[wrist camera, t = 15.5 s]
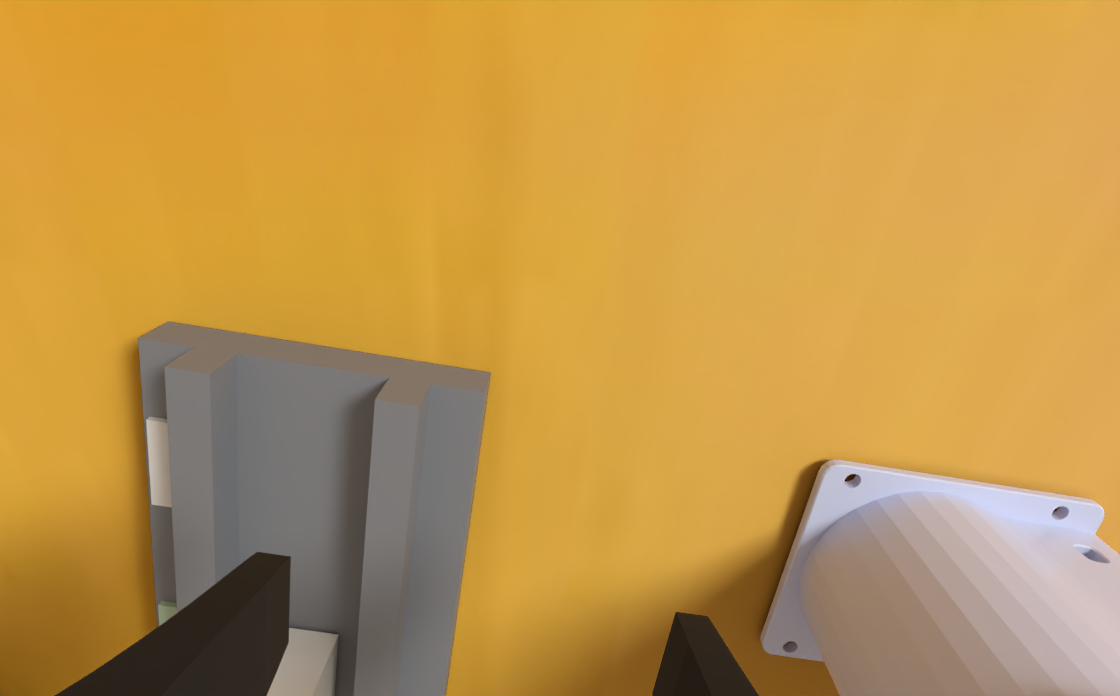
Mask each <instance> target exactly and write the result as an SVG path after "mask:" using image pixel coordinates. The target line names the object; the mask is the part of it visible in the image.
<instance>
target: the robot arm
mask: <svg viewBox="0 0 1120 696" xmlns="http://www.w3.org/2000/svg"><path fill="white" fill-rule="evenodd" d="M850 474H856V476H855V478H854V479H853V480H851V481H845V479H846V477H847V476H849V475H850ZM1058 507H1060V508H1059V509H1058V510H1057V511H1055V512H1053V511H1054V510H1055V509H1056V508H1058ZM1052 512H1053V513H1052ZM1104 514H1105V513H1104V509H1103V508H1102V507H1101V506H1100V505H1099V504H1097V503H1096V502H1095V501H1093V500H1091V499H1087V498H1081V497H1074V496H1068V495H1061V494H1055V493H1049V492H1042V491H1036V490H1029V489H1023V488H1017V487H1010V486H1004V485H997V484H991V483H985V482H978V481H972V480H965V479H959V478H953V477H946V476H940V475H933V474H927V473H921V472H914V471H908V470H901V469H895V468H889V467H882V466H876V465H869V464H863V463H857V462H850V461H844V460H830V461H828V462H826V463H825V464H823V465H822V466H821V468H820V469H819V471H818V474H817V477H816V480H815V483H814V486H813V489H812V491H811V494H810V497H809V500H808V503H807V506H806V508H805V511H804V514H803V517H802V520H801V523H800V525H799V528H798V531H797V534H796V537H795V540H794V542H793V545H792V548H791V551H790V554H789V557H788V559H787V562H786V565H785V568H784V571H783V574H782V576H781V579H780V582H779V585H778V588H777V591H776V593H775V596H774V599H773V602H772V605H771V608H770V610H769V613H768V616H767V619H766V622H765V625H764V627H763V630H762V633H761V637H760V641H761V644H762V647H763V649H764V651H766V652H767V653H769V654H772V655H779V656H786V657H793V658H800V659H807V660H814V661H821V662H825V665H826V667H827V669H828V671H829V674H830V676H831V678H832V680H833V682H834V685H835V687H836V689H837V691H838V693H839V696H1120V555H1119V554H1118V553H1117V552H1115V551H1114V550H1113V549H1112V548H1111V547H1109V546H1108V545H1107V544H1106V543H1105V542H1103V541H1102V540H1101V539H1100V538H1099V537H1097V536H1096V535H1095V533H1096V531H1097V529H1098V528H1099V526H1100V524H1101V522H1102V520H1103V518H1104ZM290 568H291V556H284V555H277V554H270V553H263V552H256V553H255V554H253V555H252V556H250V557H249V558H248V559H247V560H245V561H244V562H243V563H241V564H240V565H239V566H237V567H236V568H235V569H234V570H232V571H231V572H230V573H229V574H227V575H226V576H225V577H223V578H222V579H221V580H220V581H218V582H217V583H216V584H214V585H213V586H212V587H211V588H209V589H208V590H207V591H205V592H204V593H203V594H202V595H200V596H199V597H198V598H196V599H195V600H194V601H192V602H191V603H190V604H188V605H187V606H186V607H184V608H183V609H182V610H180V611H179V612H178V613H176V614H175V615H174V616H172V617H171V618H170V619H168V620H167V621H165V622H164V623H163V624H161V625H160V626H159V627H157V628H156V629H155V630H153V631H152V632H150V633H149V634H148V635H146V636H145V637H143V638H142V639H141V640H139V641H138V642H136V643H135V644H133V645H132V646H130V647H129V648H127V649H126V650H124V651H123V652H121V653H120V654H119V655H117V656H116V657H114V658H113V659H111V660H110V661H108V662H107V663H105V664H104V665H102V666H101V667H99V668H98V669H96V670H95V671H93V672H92V673H90V674H89V675H87V676H85V677H84V678H82V679H81V680H79V681H78V682H76V683H74V684H73V685H71V686H70V687H68V688H66V689H65V690H63V691H61V692H60V693H58V694H57V695H55V696H267V694H268V691H269V689H270V687H271V684H272V682H273V680H274V677H275V675H276V673H277V670H278V668H279V665H280V663H281V660H282V658H283V655H284V653H285V650H286V648H287V645H288V643H289V609H290ZM790 641H793V642H792V643H790V644H785V643H787V642H790ZM653 696H759V695H758V694H757V692H756V691H755V689H754V687H753V686H752V684H751V683H750V681H749V680H748V678H747V677H746V675H745V674H744V672H743V671H742V669H741V668H740V666H739V665H738V663H737V661H736V660H735V658H734V657H733V655H732V654H731V652H730V650H729V649H728V647H727V646H726V644H725V642H724V641H723V639H722V638H721V636H720V635H719V633H718V631H717V630H716V628H715V627H714V625H713V624H712V622H711V621H710V619H709V618H708V617H707V616H700V615H693V614H686V613H679V612H676V614H675V617H674V620H673V624H672V627H671V631H670V634H669V638H668V641H667V645H666V648H665V652H664V655H663V659H662V662H661V665H660V669H659V672H658V676H657V679H656V683H655V686H654V690H653Z"/></svg>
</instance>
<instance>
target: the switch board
mask: <svg viewBox="0 0 1120 696" xmlns="http://www.w3.org/2000/svg"><path fill="white" fill-rule="evenodd" d="M138 343H139V358H140V373H141V388H142V404H143V419H144V434H145V449H146V464H147V479H148V494H149V509H150V524H151V539H152V554H153V569H154V584H155V599H156V614H157V627H159V626H160V625H161V624H163V623H164V622H165V621H167V620H168V619H170V618H171V617H172V616H174V615H175V614H176V613H178V612H179V611H180V610H182V609H183V608H184V607H186V606H187V605H188V604H190V603H191V602H192V601H194V600H195V599H196V598H198V597H199V596H200V595H202V594H203V593H204V592H205V591H207V590H208V589H209V588H211V587H212V586H213V585H214V584H216V583H217V582H218V581H220V580H221V579H222V578H223V577H225V576H226V575H227V574H229V573H230V572H231V571H232V570H234V569H235V568H236V567H237V566H239V565H240V564H241V563H243V562H244V561H245V560H247V559H248V558H249V557H250V556H252V555H253V554H255V553H256V552H263V553H270V554H277V555H284V556H291V568H290V609H289V628H295V629H302V630H309V631H317V632H324V633H331V634H338V652H337V669H336V686H335V696H446V690H447V683H448V676H449V669H450V662H451V654H452V647H453V640H454V633H455V626H456V619H457V611H458V604H459V597H460V590H461V583H462V576H463V568H464V561H465V554H466V547H467V540H468V533H469V525H470V518H471V511H472V504H473V497H474V490H475V482H476V475H477V468H478V461H479V454H480V447H481V439H482V432H483V425H484V418H485V411H486V403H487V396H488V389H489V382H490V375H491V373H490V372H483V371H477V370H471V369H464V368H458V367H452V366H445V365H439V364H433V363H427V362H420V361H414V360H408V359H401V358H395V357H389V356H382V355H376V354H370V353H363V352H357V351H351V350H344V349H338V348H332V347H326V346H319V345H313V344H307V343H300V342H294V341H288V340H281V339H275V338H269V337H262V336H256V335H250V334H244V333H237V332H231V331H225V330H218V329H212V328H206V327H199V326H193V325H187V324H180V323H174V322H167V323H165V324H163V325H161V326H159V327H158V328H156V329H154V330H152V331H150V332H148V333H147V334H145V335H143V336H141V337H139V338H138Z"/></svg>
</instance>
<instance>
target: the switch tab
mask: <svg viewBox="0 0 1120 696" xmlns="http://www.w3.org/2000/svg"><path fill="white" fill-rule="evenodd" d="M337 652H338V634H331V633H324V632H317V631H309V630H302V629H295V628H289V643H288V645H287V648H286V650H285V653H284V655H283V658H282V660H281V663H280V665H279V668H278V670H277V673H276V675H275V677H274V680H273V682H272V684H271V687H270V689H269V691H268V694H267V696H335V686H336V669H337Z"/></svg>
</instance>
